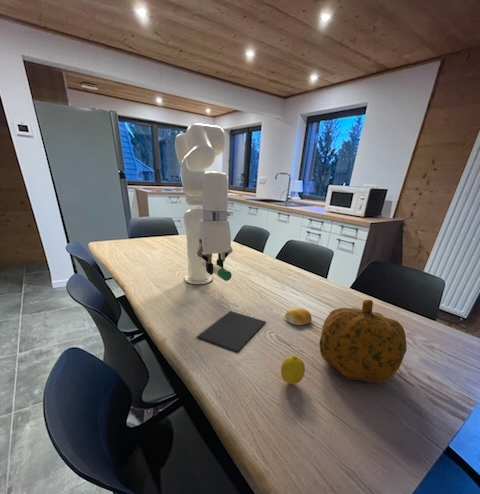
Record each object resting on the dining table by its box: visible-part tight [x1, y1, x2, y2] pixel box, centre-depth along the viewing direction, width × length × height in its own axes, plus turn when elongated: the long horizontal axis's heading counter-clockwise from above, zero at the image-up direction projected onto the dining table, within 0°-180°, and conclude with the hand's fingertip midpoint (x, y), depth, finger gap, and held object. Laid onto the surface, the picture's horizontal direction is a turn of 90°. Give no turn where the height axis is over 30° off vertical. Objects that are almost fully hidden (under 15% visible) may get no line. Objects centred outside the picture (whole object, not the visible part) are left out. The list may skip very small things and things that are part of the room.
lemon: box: [280, 355, 306, 385], centre depth 63 cm, size 6×6×8 cm
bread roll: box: [284, 308, 312, 326], centre depth 93 cm, size 8×9×4 cm
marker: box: [202, 260, 232, 282], centre depth 88 cm, size 15×3×3 cm, turn 33°
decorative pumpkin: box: [318, 299, 408, 384], centre depth 67 cm, size 20×21×20 cm
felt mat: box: [197, 310, 266, 353], centre depth 85 cm, size 20×14×1 cm
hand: (214, 272), depth 89 cm, fingers closed on marker, 3 cm apart
